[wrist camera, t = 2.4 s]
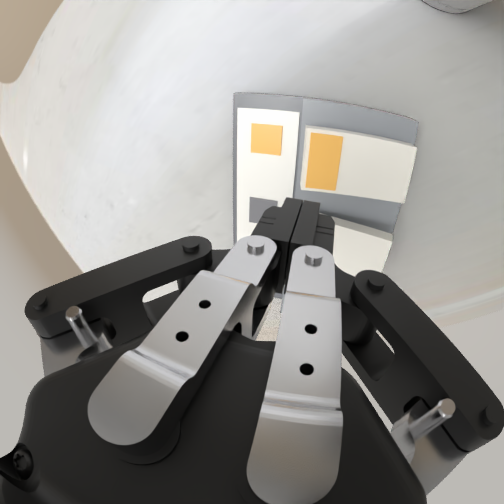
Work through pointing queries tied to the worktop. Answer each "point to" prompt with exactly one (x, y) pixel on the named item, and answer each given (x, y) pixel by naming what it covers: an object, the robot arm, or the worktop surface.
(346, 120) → the switch unit
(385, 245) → the rocker middle
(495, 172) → the worktop surface
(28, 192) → the worktop surface
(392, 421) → the robot arm
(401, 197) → the plate
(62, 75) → the worktop surface
